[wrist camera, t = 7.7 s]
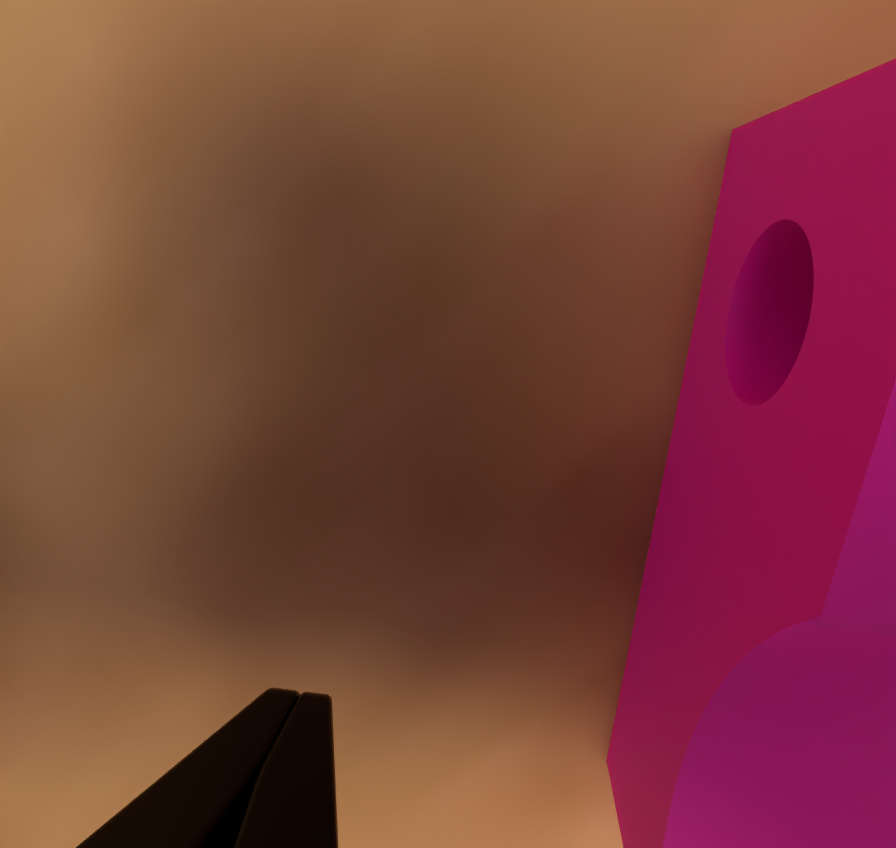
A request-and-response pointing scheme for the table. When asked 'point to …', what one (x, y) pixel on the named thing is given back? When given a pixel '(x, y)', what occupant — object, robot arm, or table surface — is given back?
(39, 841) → the table surface
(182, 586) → the table surface
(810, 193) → the toy block
